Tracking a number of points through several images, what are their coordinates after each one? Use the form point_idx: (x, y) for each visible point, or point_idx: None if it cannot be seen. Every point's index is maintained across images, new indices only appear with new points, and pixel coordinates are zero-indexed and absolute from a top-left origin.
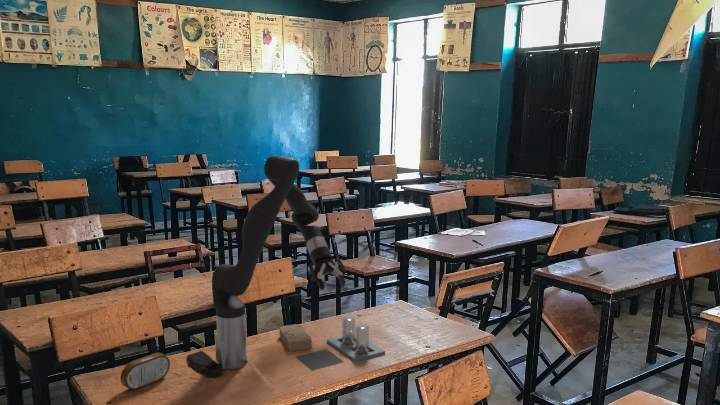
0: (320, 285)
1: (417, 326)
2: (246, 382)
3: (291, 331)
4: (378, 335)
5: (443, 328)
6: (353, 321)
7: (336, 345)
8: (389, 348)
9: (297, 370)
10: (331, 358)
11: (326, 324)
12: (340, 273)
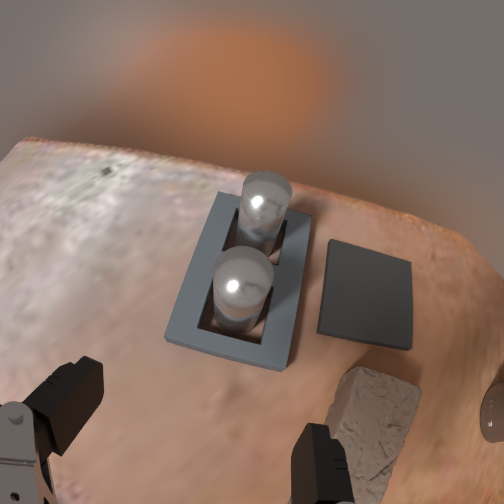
0: (341, 454)
1: (7, 250)
2: (498, 322)
3: (366, 472)
4: (104, 295)
5: (3, 203)
6: (241, 248)
7: (294, 309)
8: (166, 220)
9: (424, 298)
10: (345, 273)
11: (149, 501)
12: (19, 427)
